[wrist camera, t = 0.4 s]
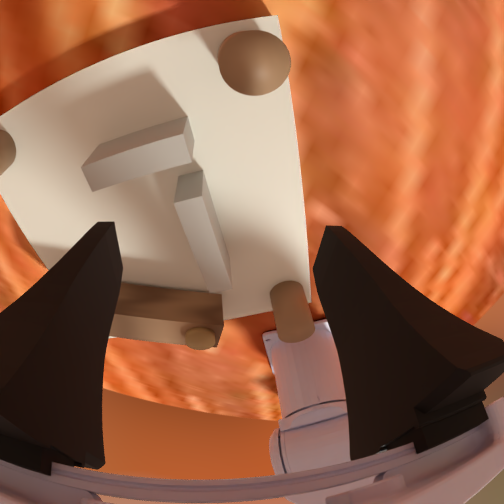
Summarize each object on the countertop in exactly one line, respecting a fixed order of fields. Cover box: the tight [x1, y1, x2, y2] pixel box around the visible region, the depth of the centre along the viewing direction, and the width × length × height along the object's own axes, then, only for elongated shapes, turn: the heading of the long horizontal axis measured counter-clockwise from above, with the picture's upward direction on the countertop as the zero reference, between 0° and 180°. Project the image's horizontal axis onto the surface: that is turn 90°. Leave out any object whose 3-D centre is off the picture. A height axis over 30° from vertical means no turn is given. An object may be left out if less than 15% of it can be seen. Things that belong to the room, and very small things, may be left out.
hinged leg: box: [109, 283, 224, 350], centre depth 22 cm, size 14×3×4 cm, turn 75°
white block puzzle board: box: [0, 15, 315, 343], centre depth 19 cm, size 22×20×6 cm
